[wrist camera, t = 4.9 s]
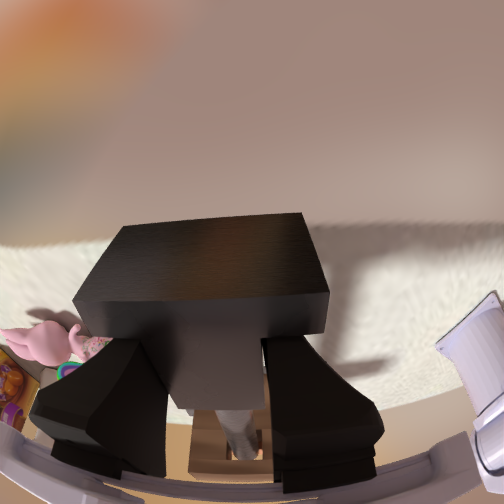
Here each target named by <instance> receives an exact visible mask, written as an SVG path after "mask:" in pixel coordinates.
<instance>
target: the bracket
mask: <svg viewBox="0 0 504 504" xmlns="http://www.w3.org/2000/svg"><path fill="white" fill-rule="evenodd" d="M264 389H265V409H261V410H253V416H254V422H255V428H256V434H257V440H258V442H261V441H262V451H263V460H232V449H231V447H230V445H229V443H228V441H227V438H226V436H225V434H224V432H223V429H222V427H221V425H220V422H219V420H218V418H217V415H216V413H215V410H194V417H193V426H192V435H191V445H190V455H189V466H188V473H189V474H191V475H192V476H193V477H194V478H196V479H197V480H207V481H229V482H230V481H231V482H255V481H256V482H257V481H273V458H272V436H271V416H270V396H269V387H268V380H267V374H264Z"/></svg>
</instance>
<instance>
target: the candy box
mask: <svg viewBox="0 0 504 504" xmlns="http://www.w3.org/2000/svg"><path fill="white" fill-rule="evenodd" d="M39 386H40V383H39V382H38V381H36V380H35V379H34V378H33V377H32V376H30V375H29V374H28V373H27V372H26V371H24V370H23V369H22V368H21V367H20V366H19V365H17V364H16V363H15V362H14V361H13V360H12V359H11V358H10V357H9V356H8V355H7V354H5V353H4V352H3V351H2V350H1V349H0V421H2V422H4V423H5V424H7V425H9V426H11V427H13V428H15V429H16V430H18V431H19V432H20V433H21V431H22V428H23V426H24V423H25V420H26V418H27V415H28V412H29V410H30V407H31V405H32V402H33V400H34V397H35V395H36V393H37V390H38V388H39Z"/></svg>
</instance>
